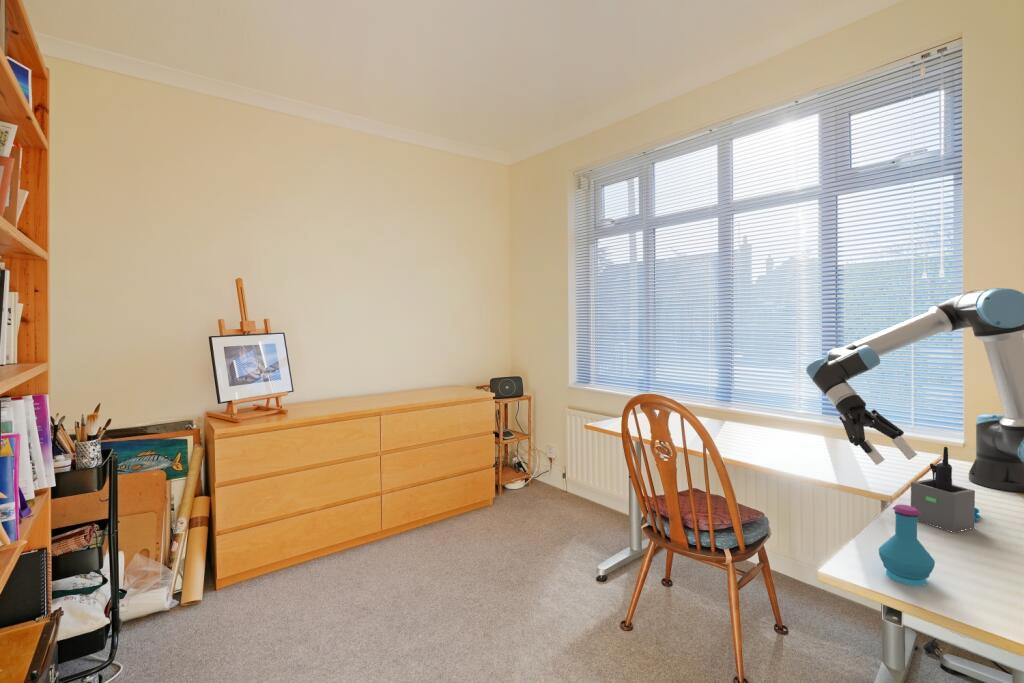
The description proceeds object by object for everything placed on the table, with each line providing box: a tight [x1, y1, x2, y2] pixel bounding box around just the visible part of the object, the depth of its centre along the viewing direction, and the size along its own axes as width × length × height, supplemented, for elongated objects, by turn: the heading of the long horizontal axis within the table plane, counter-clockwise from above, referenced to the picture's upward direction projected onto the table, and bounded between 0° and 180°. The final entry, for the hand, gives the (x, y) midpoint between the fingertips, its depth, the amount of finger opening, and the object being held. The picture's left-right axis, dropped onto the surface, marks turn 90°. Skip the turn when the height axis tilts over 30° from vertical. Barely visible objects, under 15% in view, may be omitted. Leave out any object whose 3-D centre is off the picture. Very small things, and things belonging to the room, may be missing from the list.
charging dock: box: [910, 478, 976, 533], centre depth 127 cm, size 8×10×10 cm
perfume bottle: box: [878, 504, 936, 587], centre depth 101 cm, size 9×9×15 cm
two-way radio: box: [929, 446, 953, 492], centre depth 127 cm, size 6×4×15 cm
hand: (897, 459), depth 137 cm, fingers open, 13 cm apart
